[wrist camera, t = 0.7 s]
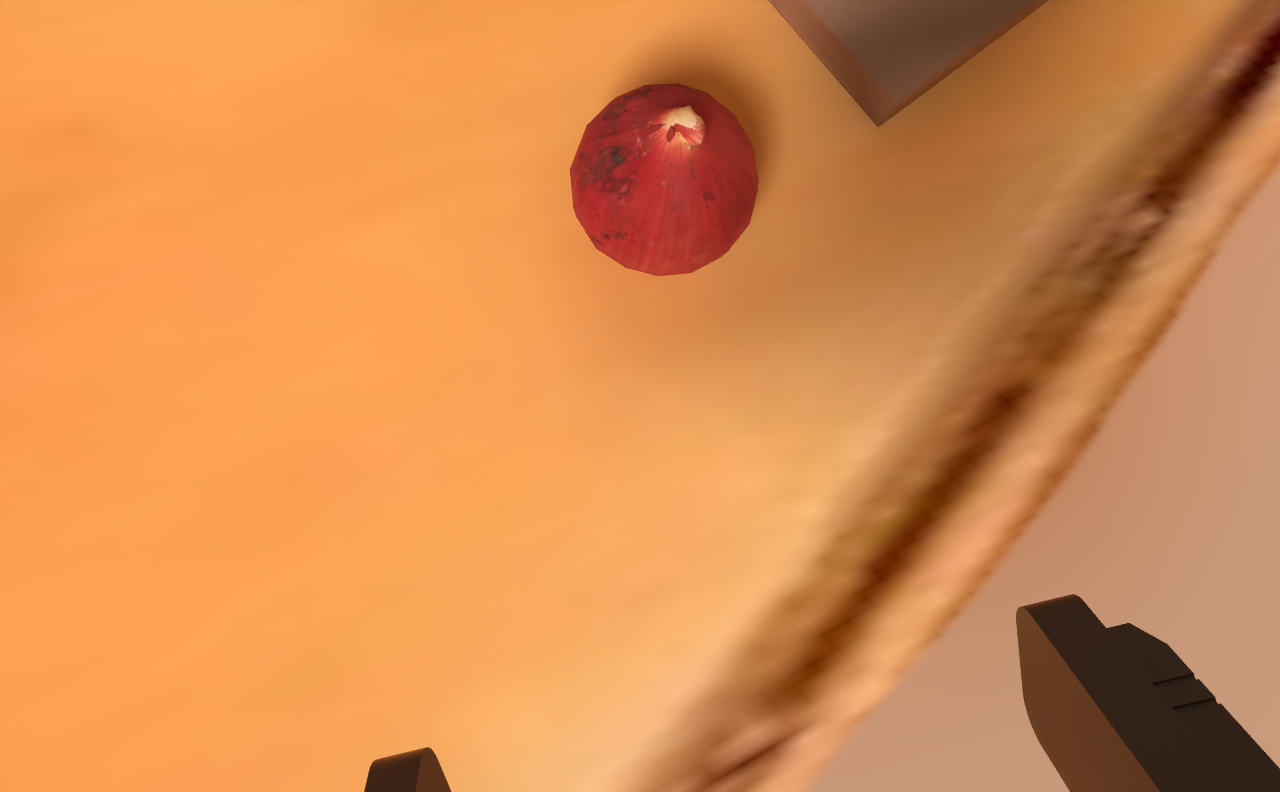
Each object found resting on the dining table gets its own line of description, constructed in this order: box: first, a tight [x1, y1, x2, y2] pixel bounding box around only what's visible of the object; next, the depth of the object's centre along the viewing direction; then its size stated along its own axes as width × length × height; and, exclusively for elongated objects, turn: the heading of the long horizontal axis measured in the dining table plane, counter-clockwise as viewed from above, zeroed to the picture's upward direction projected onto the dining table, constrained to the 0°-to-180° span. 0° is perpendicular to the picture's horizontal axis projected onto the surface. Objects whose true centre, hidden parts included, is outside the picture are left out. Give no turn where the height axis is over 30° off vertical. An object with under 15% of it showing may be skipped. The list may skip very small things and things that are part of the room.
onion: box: [570, 84, 758, 276], centre depth 31 cm, size 6×6×8 cm
